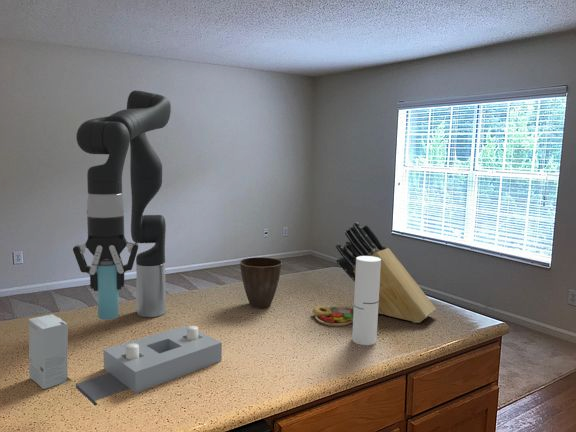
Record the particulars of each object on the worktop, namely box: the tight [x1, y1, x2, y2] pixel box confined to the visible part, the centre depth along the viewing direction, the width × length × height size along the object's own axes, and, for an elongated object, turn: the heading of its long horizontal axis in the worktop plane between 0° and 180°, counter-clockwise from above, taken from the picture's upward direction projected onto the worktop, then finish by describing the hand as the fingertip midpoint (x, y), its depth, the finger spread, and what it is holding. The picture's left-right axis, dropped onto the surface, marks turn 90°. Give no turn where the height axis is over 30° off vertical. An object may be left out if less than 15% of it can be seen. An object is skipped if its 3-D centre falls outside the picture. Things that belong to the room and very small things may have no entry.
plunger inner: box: [187, 325, 199, 341], centre depth 124 cm, size 3×3×7 cm
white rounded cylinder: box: [126, 343, 139, 361], centre depth 112 cm, size 3×3×7 cm
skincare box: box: [28, 313, 69, 390], centre depth 111 cm, size 8×6×15 cm
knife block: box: [335, 221, 437, 324], centre depth 165 cm, size 11×35×31 cm, turn 55°
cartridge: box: [96, 259, 120, 320], centre depth 105 cm, size 4×4×13 cm
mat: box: [75, 372, 130, 406], centre depth 108 cm, size 10×10×1 cm
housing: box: [103, 324, 223, 394], centre depth 119 cm, size 16×24×6 cm, turn 136°
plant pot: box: [239, 256, 283, 309], centre depth 168 cm, size 15×15×16 cm
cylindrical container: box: [351, 256, 381, 346], centre depth 138 cm, size 7×7×25 cm
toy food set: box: [312, 305, 353, 327], centre depth 157 cm, size 13×13×3 cm
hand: (107, 289), depth 105 cm, fingers closed on cartridge, 4 cm apart
